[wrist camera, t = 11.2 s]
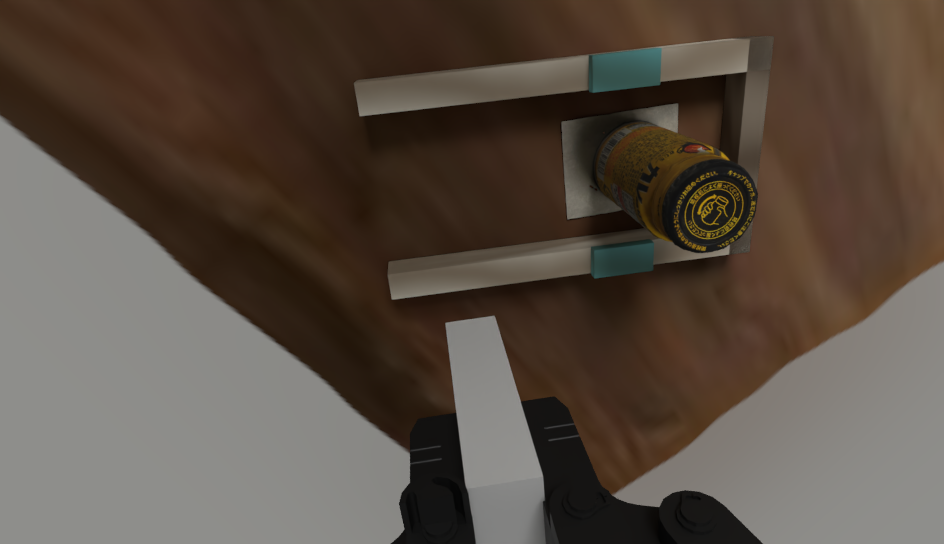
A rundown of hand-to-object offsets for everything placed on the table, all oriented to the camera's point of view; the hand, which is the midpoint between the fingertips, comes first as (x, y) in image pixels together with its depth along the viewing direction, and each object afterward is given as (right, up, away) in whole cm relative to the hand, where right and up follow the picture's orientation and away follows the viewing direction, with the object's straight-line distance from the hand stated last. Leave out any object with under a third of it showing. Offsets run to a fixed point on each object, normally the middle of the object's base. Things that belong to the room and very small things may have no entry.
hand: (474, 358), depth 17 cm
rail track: (+6, +10, +23) cm, 26 cm away
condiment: (+11, +11, +24) cm, 28 cm away
